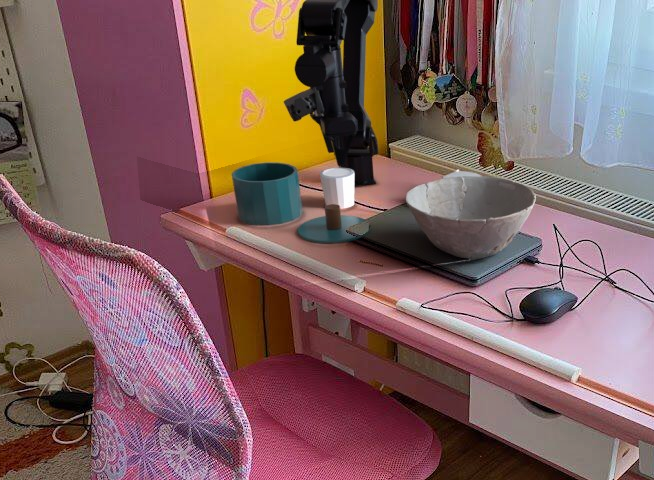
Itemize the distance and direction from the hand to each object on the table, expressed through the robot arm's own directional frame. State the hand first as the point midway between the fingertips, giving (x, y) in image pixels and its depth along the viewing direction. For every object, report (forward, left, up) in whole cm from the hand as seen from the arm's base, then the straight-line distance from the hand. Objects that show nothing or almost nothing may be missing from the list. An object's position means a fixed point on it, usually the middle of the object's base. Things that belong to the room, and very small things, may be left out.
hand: (335, 159), depth 168 cm
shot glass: (0, 0, -10) cm, 10 cm away
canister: (+14, +1, -10) cm, 17 cm away
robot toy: (-22, +6, -10) cm, 25 cm away
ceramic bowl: (-17, +31, -10) cm, 37 cm away
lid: (+4, +14, -9) cm, 17 cm away
